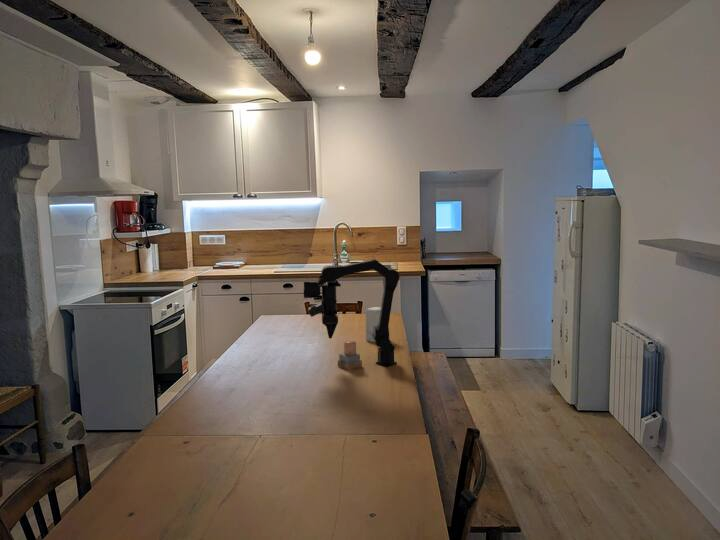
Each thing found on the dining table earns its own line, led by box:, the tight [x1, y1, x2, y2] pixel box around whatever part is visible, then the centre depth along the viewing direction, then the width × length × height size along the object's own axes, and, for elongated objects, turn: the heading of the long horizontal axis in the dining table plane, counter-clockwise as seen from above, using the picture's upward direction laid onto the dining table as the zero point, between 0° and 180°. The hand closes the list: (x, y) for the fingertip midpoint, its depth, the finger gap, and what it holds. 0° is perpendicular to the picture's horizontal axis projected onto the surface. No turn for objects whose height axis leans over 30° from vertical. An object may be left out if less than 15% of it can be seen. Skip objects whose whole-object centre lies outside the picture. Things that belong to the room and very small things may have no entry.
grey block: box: [338, 352, 361, 363], centre depth 220 cm, size 6×6×2 cm
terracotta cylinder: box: [343, 340, 357, 356], centre depth 220 cm, size 5×5×5 cm
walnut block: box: [337, 359, 363, 371], centre depth 220 cm, size 7×7×3 cm
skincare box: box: [365, 306, 381, 343], centre depth 259 cm, size 8×7×16 cm
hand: (330, 335), depth 219 cm, fingers open, 9 cm apart
